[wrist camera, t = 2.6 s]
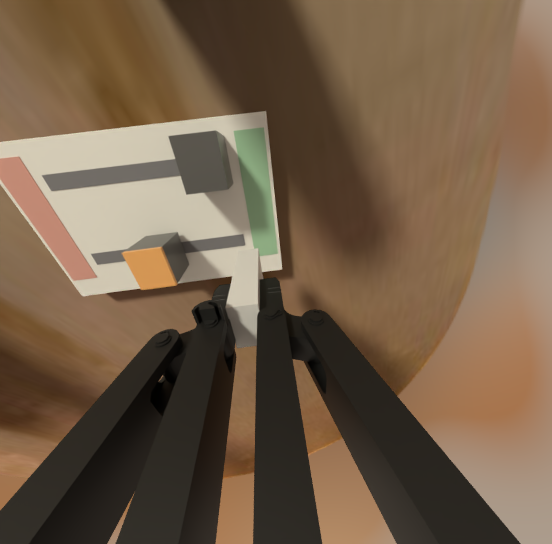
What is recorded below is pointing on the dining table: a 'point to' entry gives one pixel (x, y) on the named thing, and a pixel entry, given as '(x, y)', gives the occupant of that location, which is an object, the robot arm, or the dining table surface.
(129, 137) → the board
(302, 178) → the dining table surface
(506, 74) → the dining table surface
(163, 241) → the breaker handle
